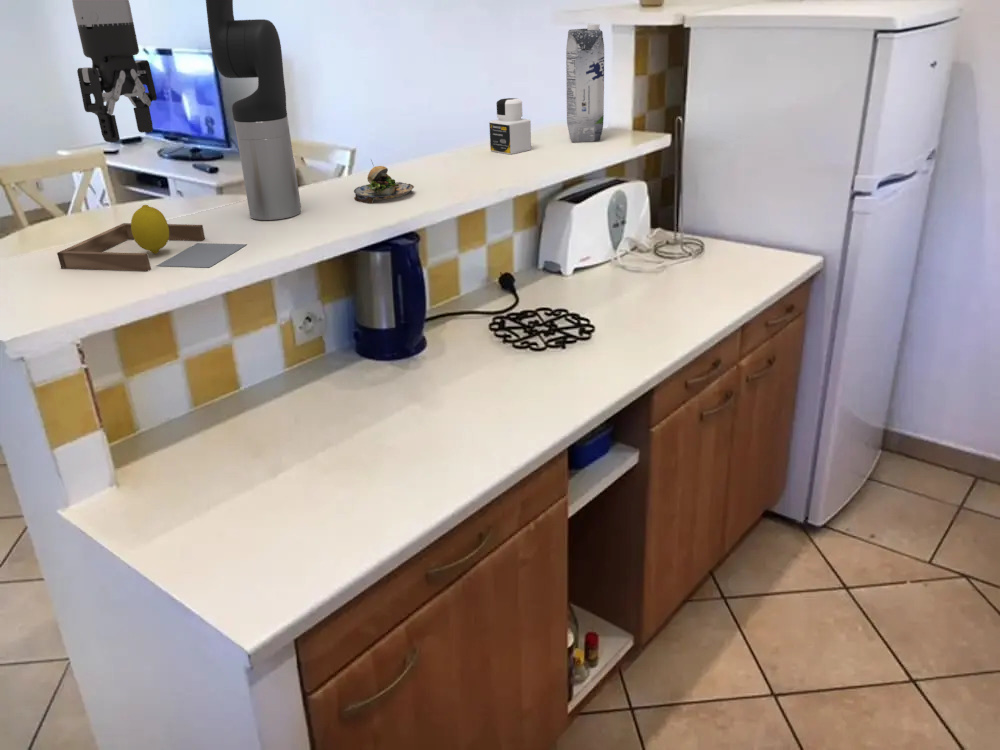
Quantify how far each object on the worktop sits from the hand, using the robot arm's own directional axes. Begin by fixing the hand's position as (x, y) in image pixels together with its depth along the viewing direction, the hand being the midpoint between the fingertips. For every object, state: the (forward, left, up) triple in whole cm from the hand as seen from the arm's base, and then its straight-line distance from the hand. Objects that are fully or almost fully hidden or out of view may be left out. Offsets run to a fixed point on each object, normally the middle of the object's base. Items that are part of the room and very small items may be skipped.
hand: (129, 136), depth 128 cm
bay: (0, -4, -19) cm, 19 cm away
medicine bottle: (-86, +41, -19) cm, 97 cm away
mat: (0, +8, -19) cm, 20 cm away
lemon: (0, 0, -19) cm, 19 cm away
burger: (-40, +25, -19) cm, 51 cm away
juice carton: (-101, +57, -19) cm, 118 cm away
